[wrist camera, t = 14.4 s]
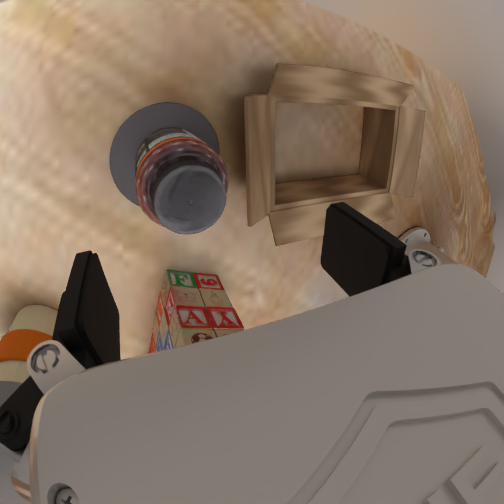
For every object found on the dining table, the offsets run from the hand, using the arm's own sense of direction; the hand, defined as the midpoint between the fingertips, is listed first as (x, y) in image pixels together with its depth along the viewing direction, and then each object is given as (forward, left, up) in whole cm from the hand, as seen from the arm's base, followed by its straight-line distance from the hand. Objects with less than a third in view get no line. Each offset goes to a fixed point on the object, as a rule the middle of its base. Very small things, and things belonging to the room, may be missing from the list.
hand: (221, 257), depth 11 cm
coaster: (0, 0, -17) cm, 17 cm away
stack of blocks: (+4, +23, -17) cm, 29 cm away
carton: (-15, 0, -17) cm, 23 cm away
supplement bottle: (0, 0, -17) cm, 17 cm away
